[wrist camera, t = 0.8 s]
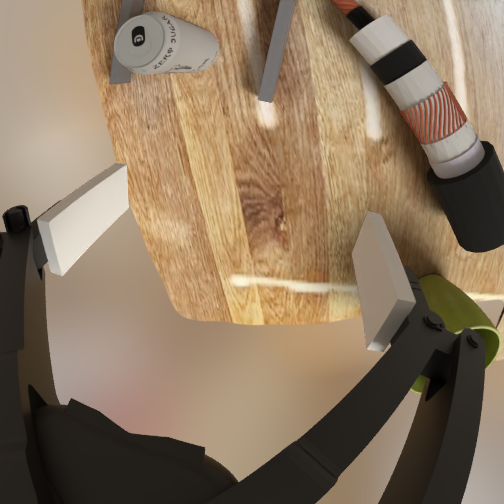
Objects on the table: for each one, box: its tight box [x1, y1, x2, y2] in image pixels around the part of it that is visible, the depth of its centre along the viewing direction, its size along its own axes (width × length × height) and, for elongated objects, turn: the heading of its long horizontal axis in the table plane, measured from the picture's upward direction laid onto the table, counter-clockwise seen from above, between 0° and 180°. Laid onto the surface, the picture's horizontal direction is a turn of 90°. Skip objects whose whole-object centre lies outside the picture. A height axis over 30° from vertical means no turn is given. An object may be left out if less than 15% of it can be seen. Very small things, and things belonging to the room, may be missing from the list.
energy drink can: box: [114, 11, 219, 75], centre depth 24 cm, size 6×6×15 cm
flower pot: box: [411, 274, 501, 394], centre depth 38 cm, size 15×15×16 cm
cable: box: [331, 0, 504, 253], centre depth 26 cm, size 10×34×10 cm, turn 42°
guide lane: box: [110, 0, 296, 103], centre depth 25 cm, size 22×21×5 cm
